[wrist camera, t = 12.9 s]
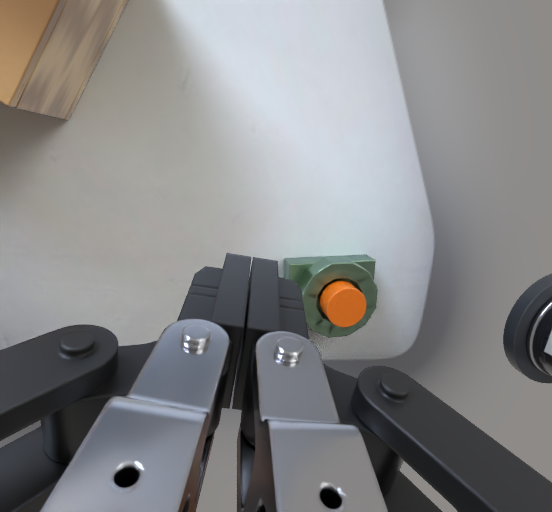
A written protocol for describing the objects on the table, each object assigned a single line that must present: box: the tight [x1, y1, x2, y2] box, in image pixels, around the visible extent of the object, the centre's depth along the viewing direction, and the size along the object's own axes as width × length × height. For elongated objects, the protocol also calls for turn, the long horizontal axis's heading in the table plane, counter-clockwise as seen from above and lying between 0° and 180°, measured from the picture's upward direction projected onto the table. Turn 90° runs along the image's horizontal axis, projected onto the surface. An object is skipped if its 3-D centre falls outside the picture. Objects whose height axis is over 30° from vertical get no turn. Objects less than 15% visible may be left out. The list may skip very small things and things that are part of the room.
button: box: [320, 281, 366, 327], centre depth 28 cm, size 3×3×2 cm
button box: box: [284, 255, 377, 337], centre depth 30 cm, size 7×6×4 cm
